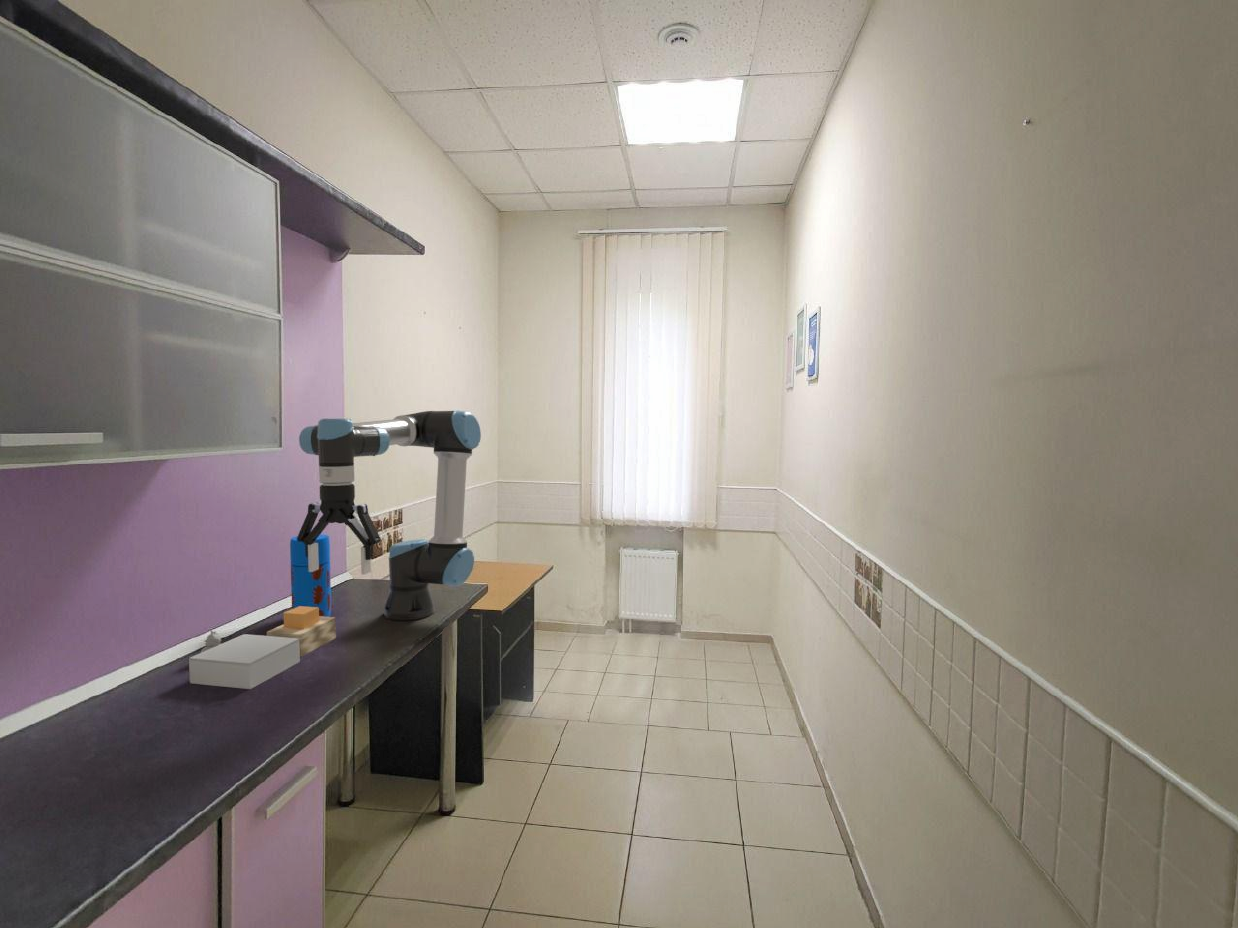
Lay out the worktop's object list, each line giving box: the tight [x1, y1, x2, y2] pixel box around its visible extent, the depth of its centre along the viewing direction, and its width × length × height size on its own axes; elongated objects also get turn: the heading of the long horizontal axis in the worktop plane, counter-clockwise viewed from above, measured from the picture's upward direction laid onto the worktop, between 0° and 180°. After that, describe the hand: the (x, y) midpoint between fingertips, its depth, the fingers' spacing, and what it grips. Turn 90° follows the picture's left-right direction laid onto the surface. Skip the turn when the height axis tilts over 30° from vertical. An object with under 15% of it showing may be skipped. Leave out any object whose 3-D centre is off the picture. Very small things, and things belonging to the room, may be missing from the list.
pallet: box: [266, 616, 337, 658], centre depth 162 cm, size 14×10×6 cm
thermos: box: [289, 533, 332, 617], centre depth 185 cm, size 11×11×25 cm
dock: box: [188, 633, 301, 690], centre depth 144 cm, size 16×16×6 cm
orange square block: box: [283, 606, 319, 629], centre depth 161 cm, size 6×6×4 cm
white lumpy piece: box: [200, 629, 222, 653], centre depth 152 cm, size 5×7×8 cm
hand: (339, 571), depth 142 cm, fingers open, 13 cm apart
